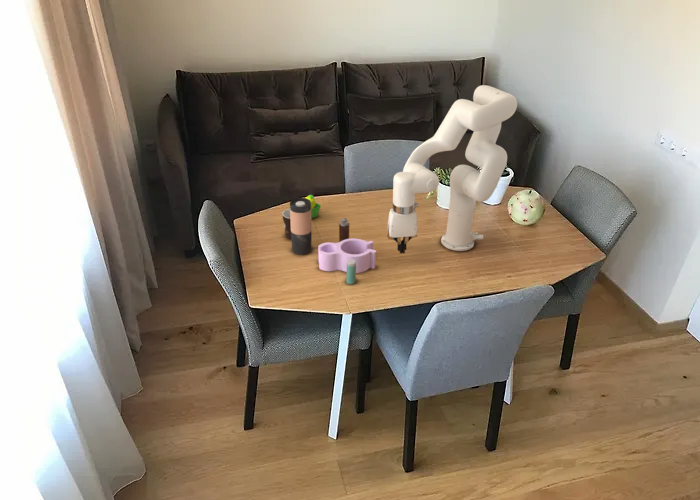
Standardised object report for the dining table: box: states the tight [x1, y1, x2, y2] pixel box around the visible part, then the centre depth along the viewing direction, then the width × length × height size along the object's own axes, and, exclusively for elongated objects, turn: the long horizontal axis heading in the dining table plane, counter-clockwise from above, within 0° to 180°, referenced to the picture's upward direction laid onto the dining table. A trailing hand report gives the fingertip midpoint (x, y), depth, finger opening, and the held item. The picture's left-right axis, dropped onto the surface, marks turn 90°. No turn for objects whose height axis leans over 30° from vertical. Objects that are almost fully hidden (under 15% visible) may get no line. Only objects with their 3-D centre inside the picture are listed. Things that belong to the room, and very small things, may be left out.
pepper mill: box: [338, 217, 350, 242], centre depth 220 cm, size 4×4×13 cm
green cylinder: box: [345, 260, 357, 285], centre depth 201 cm, size 3×3×8 cm
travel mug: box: [289, 197, 313, 256], centre depth 216 cm, size 8×8×20 cm
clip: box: [317, 237, 377, 274], centre depth 211 cm, size 20×12×7 cm, turn 97°
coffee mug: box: [281, 208, 292, 241], centre depth 228 cm, size 12×9×10 cm
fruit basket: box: [288, 194, 322, 220], centre depth 239 cm, size 11×9×11 cm
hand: (401, 251), depth 214 cm, fingers closed
